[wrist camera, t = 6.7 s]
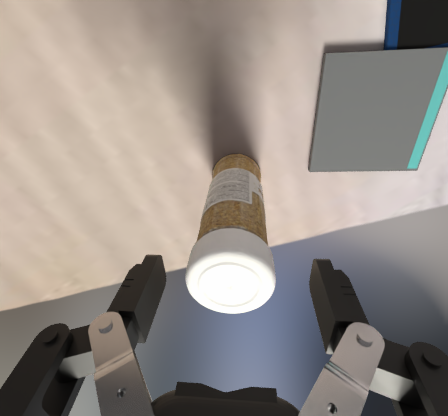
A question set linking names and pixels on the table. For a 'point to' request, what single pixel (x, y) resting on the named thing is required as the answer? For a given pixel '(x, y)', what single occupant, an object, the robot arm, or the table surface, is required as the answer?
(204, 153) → the table surface
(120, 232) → the table surface
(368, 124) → the mat
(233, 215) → the sprinkles bottle
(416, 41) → the cell phone
